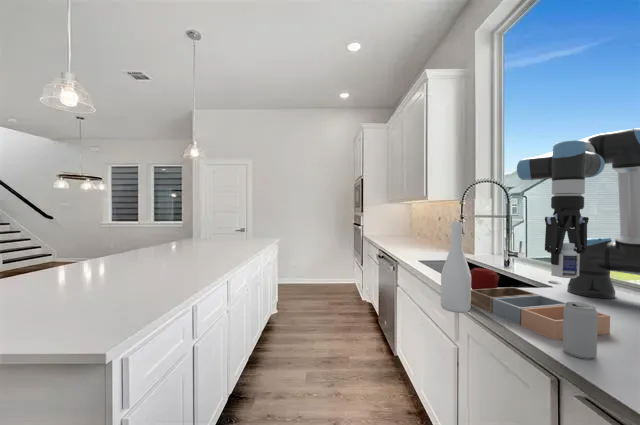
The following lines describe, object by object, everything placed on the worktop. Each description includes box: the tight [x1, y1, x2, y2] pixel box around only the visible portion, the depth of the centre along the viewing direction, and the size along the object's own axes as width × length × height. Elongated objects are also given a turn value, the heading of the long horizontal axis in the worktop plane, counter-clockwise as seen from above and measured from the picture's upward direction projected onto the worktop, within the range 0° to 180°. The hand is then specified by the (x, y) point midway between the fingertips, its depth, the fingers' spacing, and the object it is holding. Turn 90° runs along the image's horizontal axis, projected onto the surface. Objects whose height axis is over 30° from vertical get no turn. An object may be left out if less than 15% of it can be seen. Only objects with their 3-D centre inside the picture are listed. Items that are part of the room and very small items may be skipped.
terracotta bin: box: [520, 305, 611, 341], centre depth 92 cm, size 20×11×5 cm, turn 105°
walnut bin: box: [471, 286, 539, 314], centre depth 114 cm, size 20×11×5 cm, turn 105°
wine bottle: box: [440, 221, 472, 314], centre depth 110 cm, size 10×10×30 cm
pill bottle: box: [560, 242, 577, 279], centre depth 92 cm, size 5×5×10 cm
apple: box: [470, 266, 500, 290], centre depth 127 cm, size 11×11×12 cm
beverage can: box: [562, 301, 598, 360], centre depth 77 cm, size 6×6×12 cm
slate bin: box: [492, 294, 566, 326], centre depth 103 cm, size 20×11×5 cm, turn 105°
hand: (565, 275), depth 92 cm, fingers closed on pill bottle, 5 cm apart
